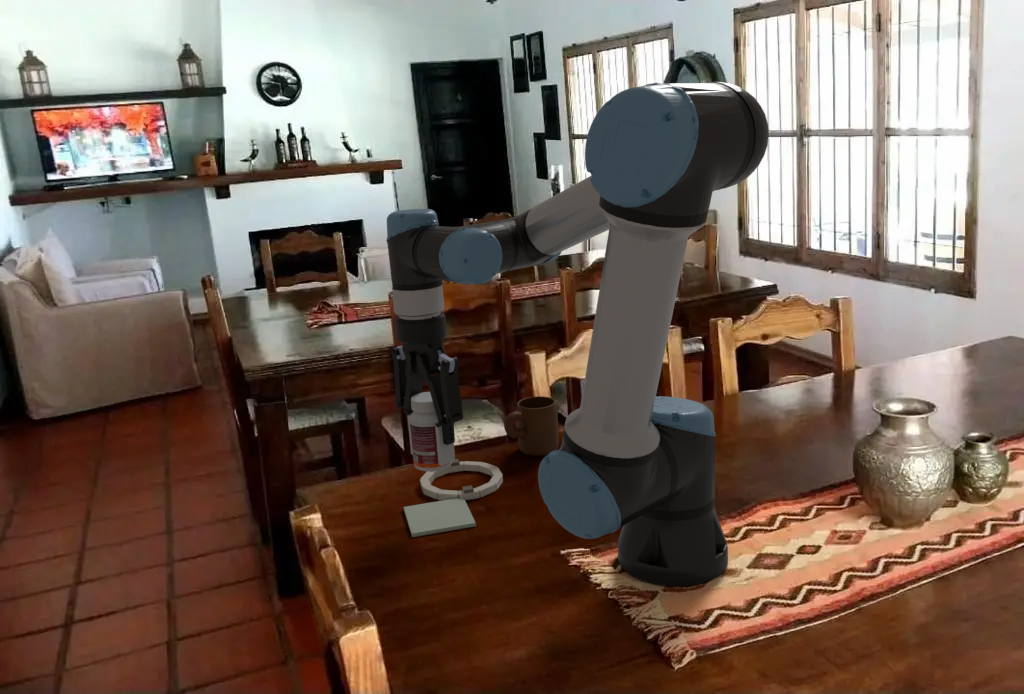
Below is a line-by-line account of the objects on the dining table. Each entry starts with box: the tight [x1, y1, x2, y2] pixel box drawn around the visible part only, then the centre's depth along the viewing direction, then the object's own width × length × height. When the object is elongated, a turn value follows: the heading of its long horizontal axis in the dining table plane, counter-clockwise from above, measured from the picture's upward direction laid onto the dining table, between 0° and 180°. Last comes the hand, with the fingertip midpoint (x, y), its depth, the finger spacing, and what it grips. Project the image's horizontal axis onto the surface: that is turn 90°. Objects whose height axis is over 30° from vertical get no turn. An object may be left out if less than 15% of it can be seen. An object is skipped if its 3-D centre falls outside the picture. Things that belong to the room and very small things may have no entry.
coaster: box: [403, 497, 477, 538], centre depth 139 cm, size 10×10×1 cm
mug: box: [503, 396, 560, 457], centre depth 162 cm, size 12×8×9 cm, turn 134°
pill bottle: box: [410, 391, 453, 472], centre depth 135 cm, size 6×6×11 cm
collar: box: [419, 458, 504, 501], centre depth 151 cm, size 14×14×2 cm
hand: (432, 456), depth 136 cm, fingers closed on pill bottle, 6 cm apart
